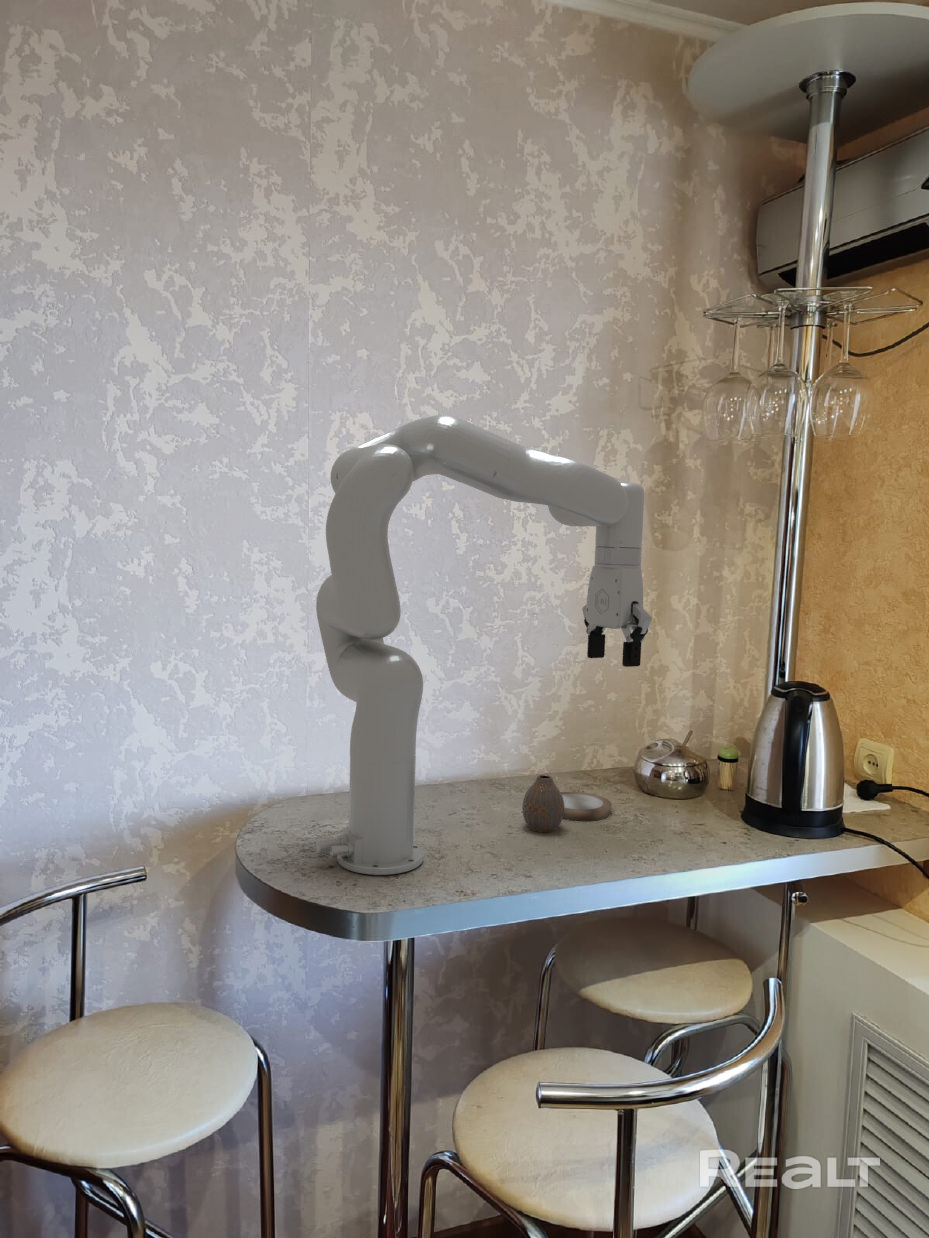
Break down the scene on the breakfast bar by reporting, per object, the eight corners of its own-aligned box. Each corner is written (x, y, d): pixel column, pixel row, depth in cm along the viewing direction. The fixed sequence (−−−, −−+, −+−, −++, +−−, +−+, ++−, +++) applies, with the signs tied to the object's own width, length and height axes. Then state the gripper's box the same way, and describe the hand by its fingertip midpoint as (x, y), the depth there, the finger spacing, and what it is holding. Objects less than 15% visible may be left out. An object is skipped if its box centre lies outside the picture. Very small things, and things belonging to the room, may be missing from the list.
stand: (567, 824, 149) (568, 815, 149) (530, 804, 160) (530, 795, 160) (625, 815, 155) (625, 807, 155) (585, 796, 165) (585, 788, 165)
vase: (570, 827, 148) (572, 775, 147) (551, 838, 142) (554, 784, 141) (533, 818, 152) (535, 768, 151) (514, 829, 146) (516, 777, 145)
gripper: (569, 556, 152) (565, 655, 153) (632, 560, 136) (626, 670, 138) (605, 557, 155) (600, 654, 157) (670, 561, 140) (664, 668, 142)
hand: (613, 661), depth 147 cm, fingers open, 9 cm apart
